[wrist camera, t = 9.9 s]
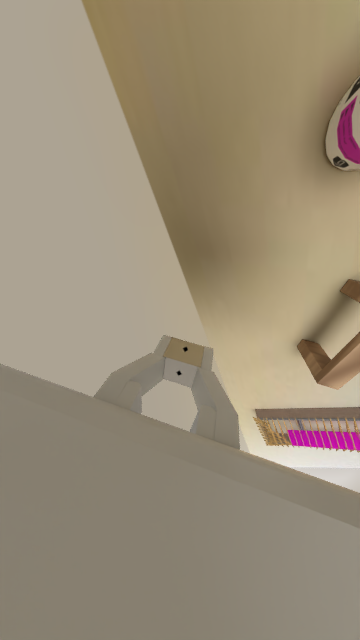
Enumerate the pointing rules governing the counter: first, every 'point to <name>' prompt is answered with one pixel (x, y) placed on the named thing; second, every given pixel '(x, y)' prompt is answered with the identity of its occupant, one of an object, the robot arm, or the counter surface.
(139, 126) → the counter surface
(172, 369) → the robot arm
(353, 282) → the bridge
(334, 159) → the supplement can
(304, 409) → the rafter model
